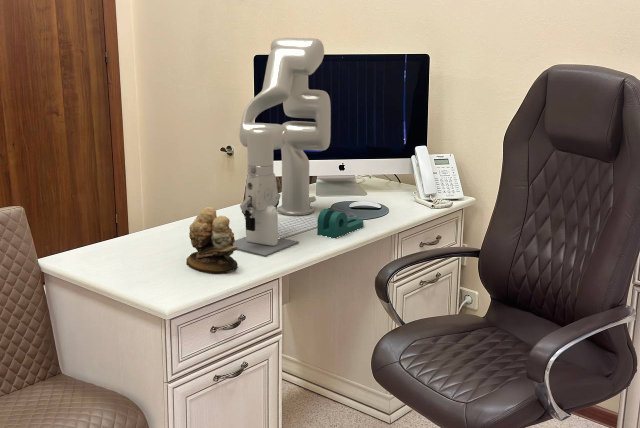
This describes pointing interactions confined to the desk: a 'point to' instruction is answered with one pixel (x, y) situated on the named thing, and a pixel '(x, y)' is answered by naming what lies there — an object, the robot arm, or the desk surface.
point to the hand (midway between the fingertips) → (261, 226)
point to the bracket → (336, 223)
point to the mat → (263, 246)
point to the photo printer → (264, 227)
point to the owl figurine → (212, 243)
